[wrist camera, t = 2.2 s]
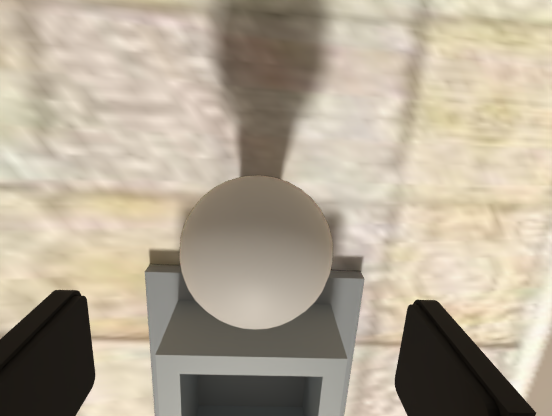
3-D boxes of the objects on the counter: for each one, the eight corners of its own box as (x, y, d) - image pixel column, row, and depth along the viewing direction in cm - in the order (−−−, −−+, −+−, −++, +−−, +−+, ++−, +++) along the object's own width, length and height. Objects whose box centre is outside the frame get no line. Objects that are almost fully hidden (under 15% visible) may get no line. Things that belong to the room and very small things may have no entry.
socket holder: (149, 264, 23) (112, 320, 17) (360, 271, 24) (390, 328, 18) (159, 426, 27) (132, 513, 22) (337, 428, 28) (356, 513, 22)
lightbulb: (328, 183, 22) (387, 268, 11) (271, 257, 23) (277, 392, 13) (245, 125, 21) (227, 160, 10) (191, 207, 22) (125, 311, 12)
